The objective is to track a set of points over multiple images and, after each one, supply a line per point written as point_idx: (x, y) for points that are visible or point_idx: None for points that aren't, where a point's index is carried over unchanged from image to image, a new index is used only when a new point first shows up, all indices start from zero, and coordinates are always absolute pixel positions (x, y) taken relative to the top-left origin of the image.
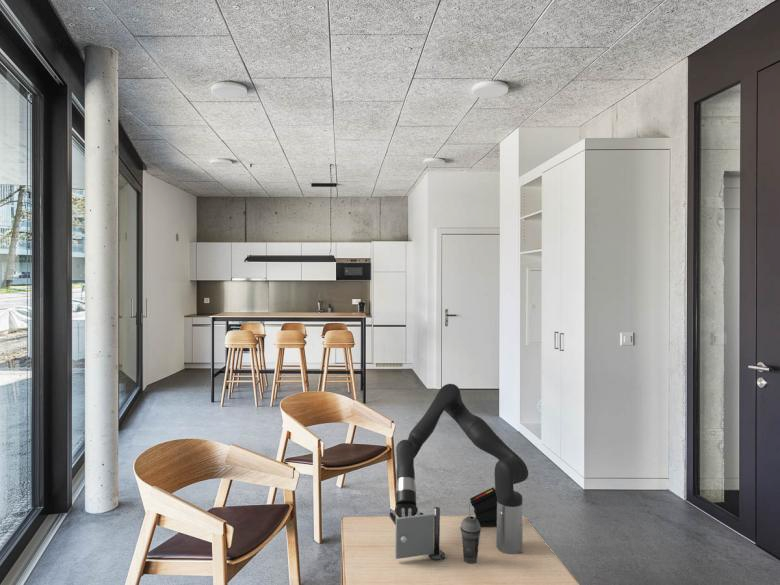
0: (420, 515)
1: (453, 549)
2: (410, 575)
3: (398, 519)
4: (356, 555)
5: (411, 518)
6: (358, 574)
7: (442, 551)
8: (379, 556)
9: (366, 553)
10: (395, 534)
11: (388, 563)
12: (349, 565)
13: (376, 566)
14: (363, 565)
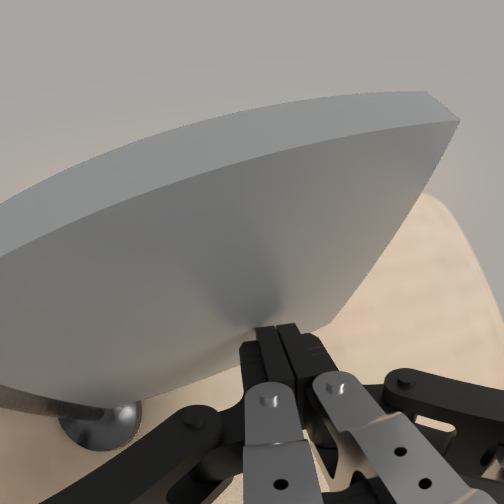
0: (5, 231)
1: (30, 463)
2: None
3: (410, 96)
4: (487, 343)
5: (213, 133)
6: (426, 213)
7: (64, 425)
8: (410, 365)
9: (464, 373)
10: (383, 249)
11: (352, 307)
12: (475, 264)
13: (394, 272)
14: (440, 272)
